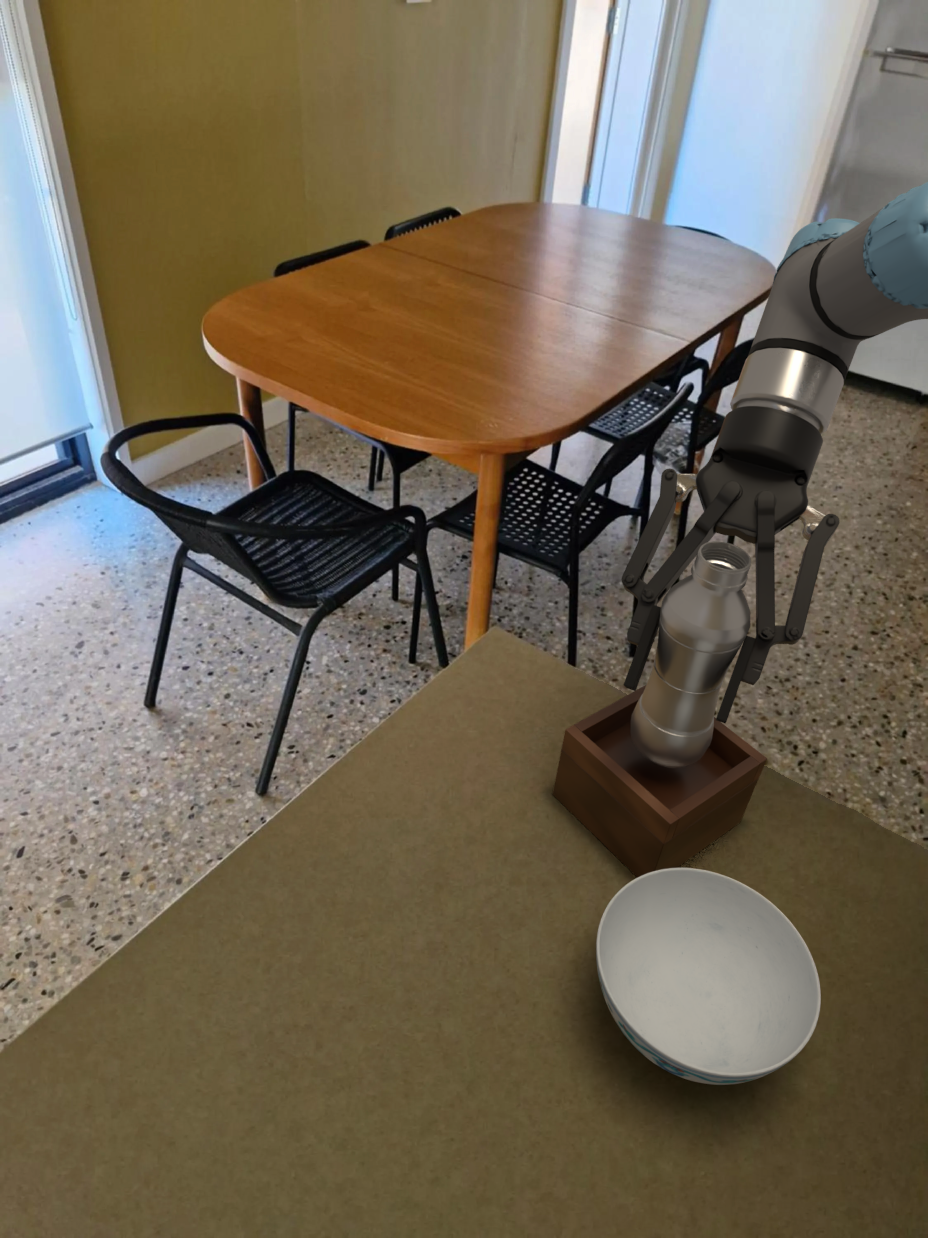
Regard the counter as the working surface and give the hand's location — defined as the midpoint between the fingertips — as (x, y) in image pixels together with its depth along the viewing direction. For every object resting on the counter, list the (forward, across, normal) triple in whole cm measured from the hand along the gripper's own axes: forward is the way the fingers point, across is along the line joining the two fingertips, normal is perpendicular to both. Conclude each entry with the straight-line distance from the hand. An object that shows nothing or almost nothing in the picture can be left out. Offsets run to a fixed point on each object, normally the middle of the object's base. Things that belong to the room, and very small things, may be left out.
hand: (674, 703), depth 67 cm
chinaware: (+21, -8, -2) cm, 23 cm away
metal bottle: (+4, 0, -9) cm, 9 cm away
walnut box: (+9, 0, -14) cm, 17 cm away
